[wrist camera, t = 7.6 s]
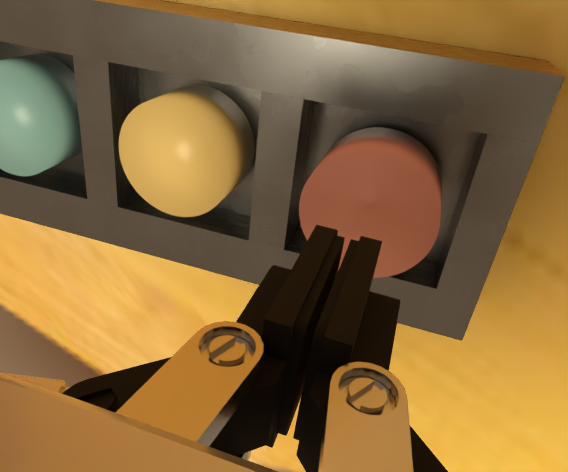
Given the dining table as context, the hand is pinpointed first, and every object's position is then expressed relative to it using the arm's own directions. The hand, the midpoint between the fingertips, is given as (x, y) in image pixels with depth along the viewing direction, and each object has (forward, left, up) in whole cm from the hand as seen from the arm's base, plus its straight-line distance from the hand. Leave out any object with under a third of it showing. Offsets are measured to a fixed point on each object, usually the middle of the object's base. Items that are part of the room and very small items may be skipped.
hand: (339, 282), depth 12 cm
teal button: (+15, 0, -8) cm, 17 cm away
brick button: (0, 0, -7) cm, 7 cm away
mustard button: (+7, 0, -8) cm, 11 cm away
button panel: (+7, 0, -9) cm, 12 cm away
